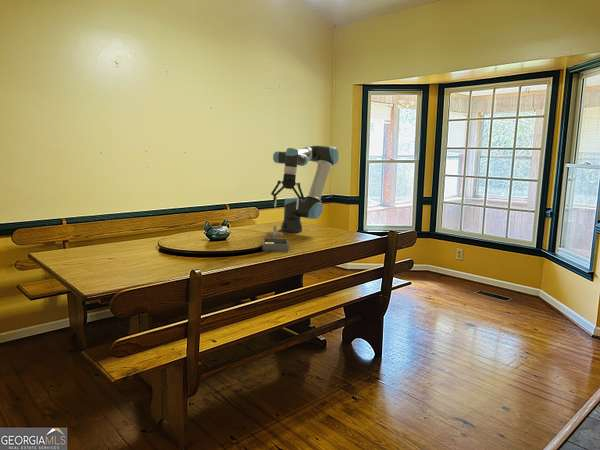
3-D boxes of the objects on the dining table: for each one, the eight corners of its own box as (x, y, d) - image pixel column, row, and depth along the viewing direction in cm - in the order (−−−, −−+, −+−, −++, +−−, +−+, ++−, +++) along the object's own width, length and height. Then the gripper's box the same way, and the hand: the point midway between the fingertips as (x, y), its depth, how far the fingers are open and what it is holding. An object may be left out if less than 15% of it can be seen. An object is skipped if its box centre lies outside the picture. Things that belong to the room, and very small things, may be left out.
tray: (262, 244, 270) (262, 237, 269) (287, 245, 271) (287, 238, 271) (262, 250, 255) (262, 244, 255) (288, 251, 257) (288, 244, 256)
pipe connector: (283, 240, 283) (284, 224, 281) (281, 243, 274) (281, 227, 272) (267, 238, 284) (268, 223, 282) (265, 242, 275) (265, 226, 273)
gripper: (270, 171, 267) (266, 206, 269) (310, 176, 271) (306, 210, 273) (269, 171, 274) (265, 205, 277) (308, 176, 278) (304, 209, 280)
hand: (286, 208), depth 275 cm, fingers open, 13 cm apart
